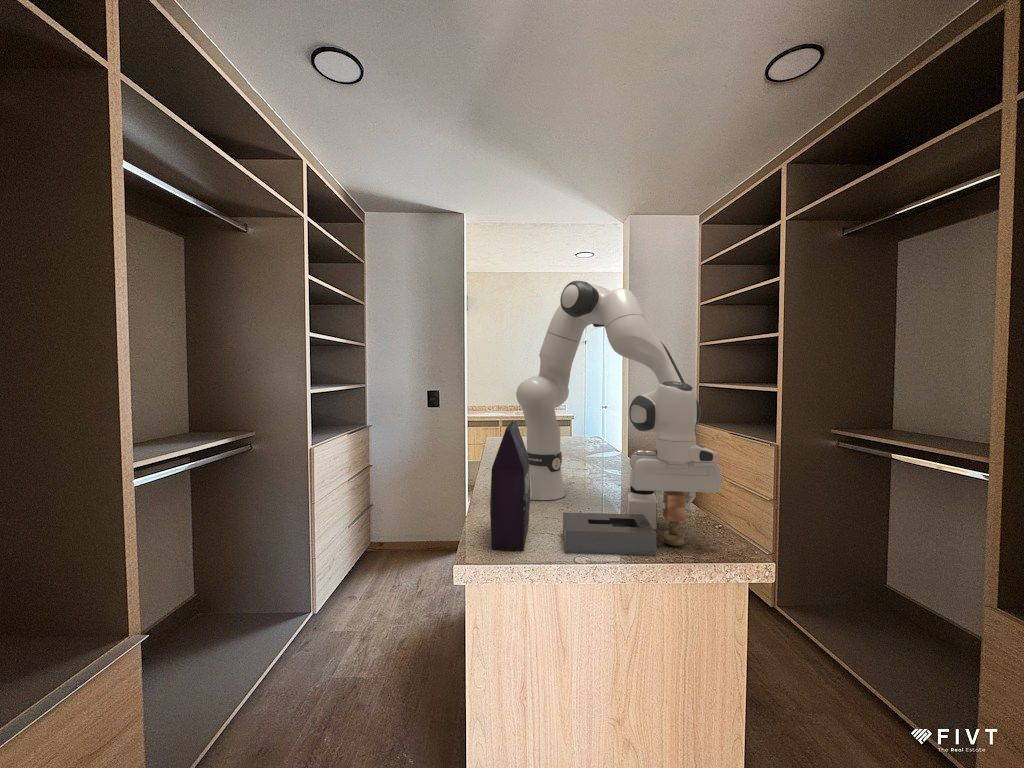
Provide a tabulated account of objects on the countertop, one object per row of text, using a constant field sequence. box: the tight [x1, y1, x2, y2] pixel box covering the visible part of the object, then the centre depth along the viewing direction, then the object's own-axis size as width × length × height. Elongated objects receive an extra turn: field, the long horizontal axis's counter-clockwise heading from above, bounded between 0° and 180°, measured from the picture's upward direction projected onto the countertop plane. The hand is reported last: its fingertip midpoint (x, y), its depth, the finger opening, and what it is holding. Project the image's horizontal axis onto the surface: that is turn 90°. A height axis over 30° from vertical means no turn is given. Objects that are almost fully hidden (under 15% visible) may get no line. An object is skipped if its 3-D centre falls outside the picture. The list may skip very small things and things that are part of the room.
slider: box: [662, 491, 687, 547], centre depth 106 cm, size 4×4×12 cm
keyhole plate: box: [562, 511, 657, 556], centre depth 107 cm, size 20×13×5 cm, turn 86°
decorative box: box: [489, 420, 531, 552], centre depth 110 cm, size 8×16×28 cm, turn 174°
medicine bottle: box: [626, 484, 658, 530], centre depth 120 cm, size 7×7×12 cm
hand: (674, 509), depth 106 cm, fingers closed on slider, 4 cm apart
